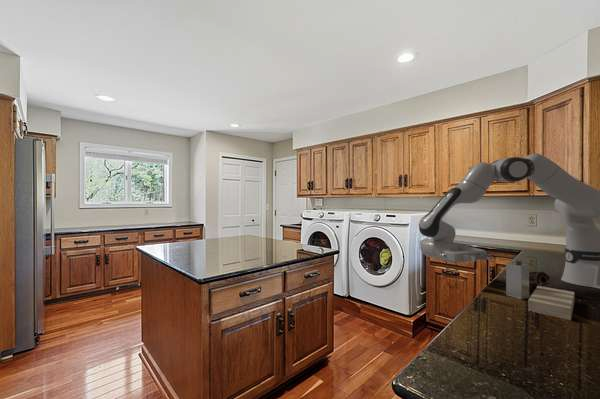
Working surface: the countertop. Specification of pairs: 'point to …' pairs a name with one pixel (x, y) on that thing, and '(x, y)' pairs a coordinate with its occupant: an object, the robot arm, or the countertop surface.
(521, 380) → the countertop surface
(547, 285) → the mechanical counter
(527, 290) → the aluminium block
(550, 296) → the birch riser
